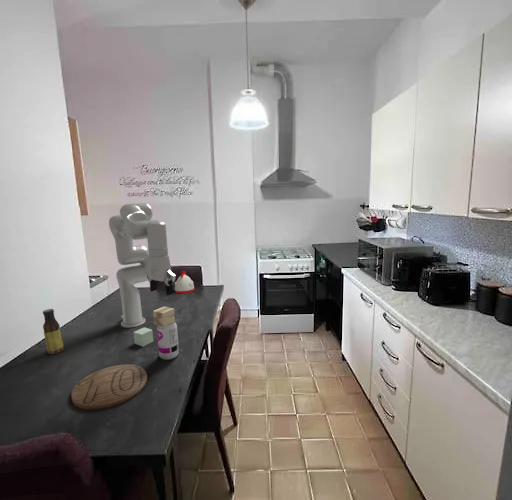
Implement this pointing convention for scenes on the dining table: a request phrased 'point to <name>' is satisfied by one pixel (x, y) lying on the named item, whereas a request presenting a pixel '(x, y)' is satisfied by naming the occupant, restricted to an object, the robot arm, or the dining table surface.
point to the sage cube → (143, 336)
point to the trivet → (109, 387)
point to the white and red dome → (184, 284)
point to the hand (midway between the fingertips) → (161, 292)
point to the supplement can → (168, 341)
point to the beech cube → (164, 316)
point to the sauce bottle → (52, 332)
